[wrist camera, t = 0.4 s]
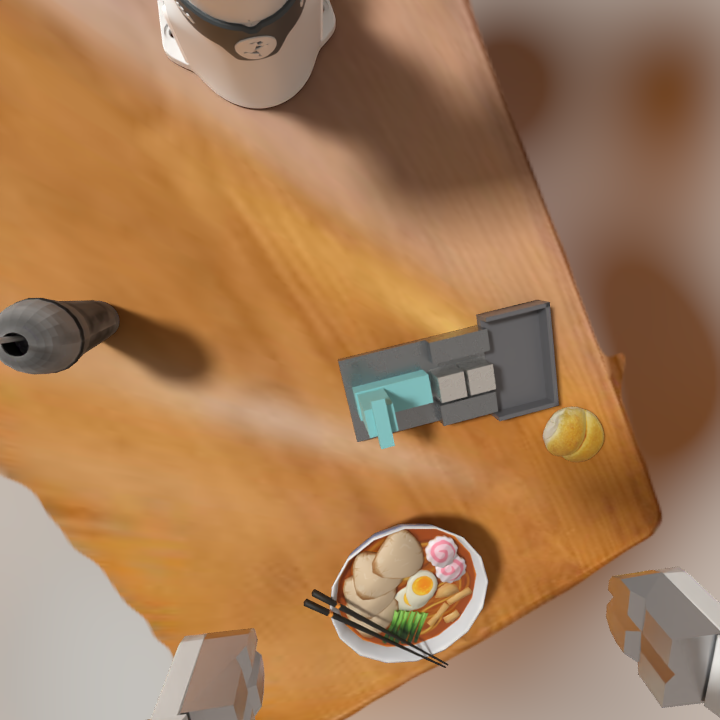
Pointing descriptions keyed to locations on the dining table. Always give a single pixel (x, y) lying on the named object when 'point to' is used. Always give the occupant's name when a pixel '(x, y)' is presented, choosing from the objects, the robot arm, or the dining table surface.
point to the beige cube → (448, 383)
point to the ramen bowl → (406, 593)
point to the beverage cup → (52, 333)
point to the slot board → (414, 359)
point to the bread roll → (573, 434)
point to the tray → (521, 358)
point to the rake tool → (390, 402)
